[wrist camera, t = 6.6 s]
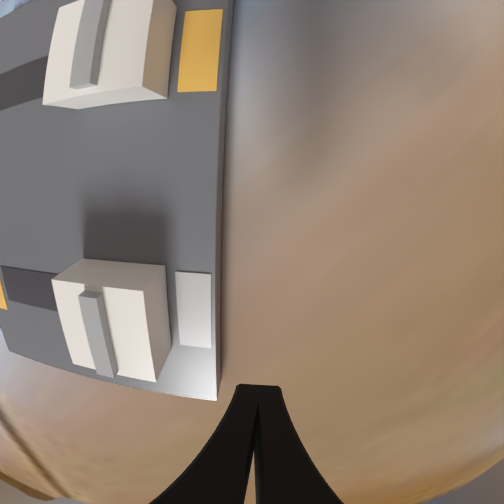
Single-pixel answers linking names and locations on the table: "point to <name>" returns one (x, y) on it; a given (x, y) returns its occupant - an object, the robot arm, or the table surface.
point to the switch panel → (116, 191)
